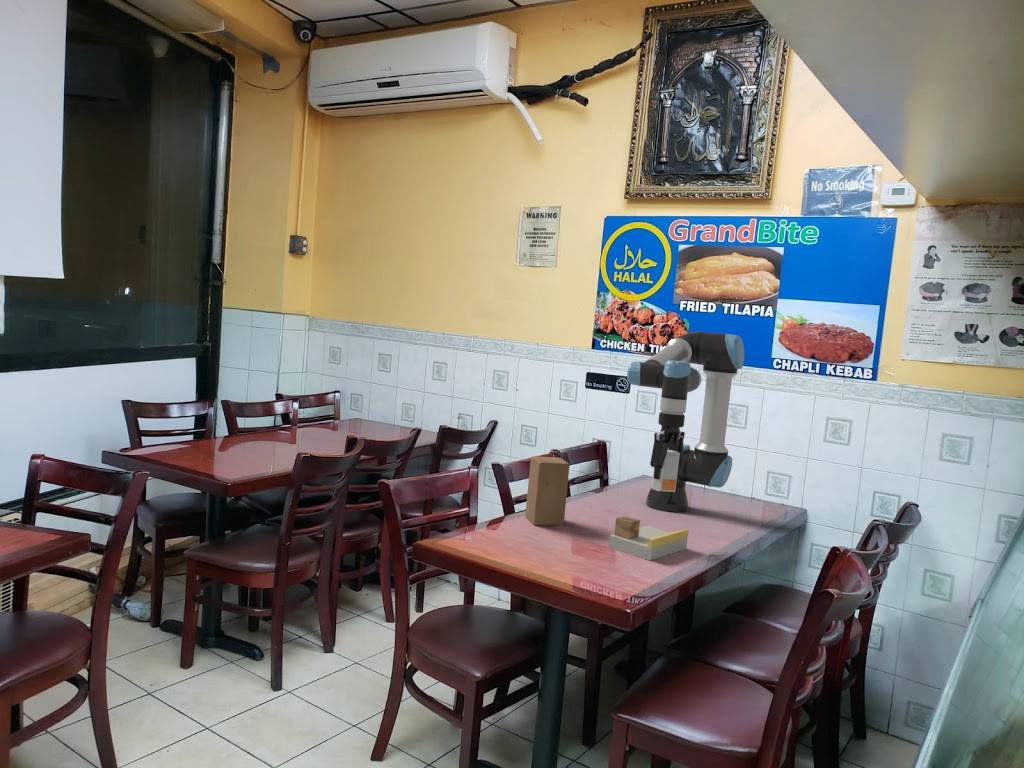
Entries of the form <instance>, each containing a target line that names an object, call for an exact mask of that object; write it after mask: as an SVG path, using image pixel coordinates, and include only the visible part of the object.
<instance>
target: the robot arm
mask: <svg viewBox="0 0 1024 768" xmlns="http://www.w3.org/2000/svg"><path fill="white" fill-rule="evenodd" d="M743 342H744V341H743V340H742V338H741V337H740V336H739V335H737V334H730V333H720V332H706V331H691V332H687V333H684V334H680V335H678V336H676V337H674V338H672V339H671V340H669V341H668V342H667V344H666V345H665V347H664V348H663V349H661V350H660V351H658V352H657V353H656V354H654V355H652V356H651V357H649V358H648V359H646V360H645V361H644V362H642V361H631V362H630V363H629V365H628V368H627V370H626V378H627V382H628V383H629V385H633V386H638V387H644V388H645V387H646V388H652V389H653V388H654V389H661V395H660V396H661V398H660V406H659V410H660V412H659V413H658V422H657V423H658V425H660V426H661V429H660V430H659V431H660V432H654V437H653V440H654V441H653V447H652V452H651V457H650V463H649V465H650V466H651V468H653V471H654V477H653V476H652V480H653V486H652V485H651V487H650V489H649V492H648V493H647V496H646V500H645V501H646V502H645V504H647V505H646V506H648V507H649V506H650V507H649V508H652V509H654V510H659V511H663V510H664V511H663V512H671V511H673V512H674V513H680V512H681V511H683V512H686V510H687V511H688V510H689V499H688V495H687V490H686V484H687V483H691V484H695V485H696V484H697V485H701V486H706V487H709V488H723V487H724V486H725V485H726V484H727V482H728V480H729V478H730V474H731V471H732V468H733V457H732V456H730V455H729V449H728V448H727V447H726V445H725V443H726V436H727V435H726V434H727V433H726V432H727V425H728V423H727V422H728V416H729V408H730V398H731V392H732V391H731V389H732V382H733V378H734V377H735V376H737V375H738V370H742V368H743V366H744V362H745V348H744V347H745V346H744V343H743ZM691 364H692V365H693V364H694V365H700V366H703V367H702V371H703V373H704V374H705V375H706V381H705V389H704V397H703V398H704V400H703V405H702V406H703V408H702V409H703V410H702V417H701V418H702V419H701V427H700V434H699V435H700V437H699V442H698V443H697V444H696V445H695V446H694V449H691V445H689V444H685V443H684V440H685V435H686V433H685V431H681V429H680V428H684V425H685V420H686V416H685V413H686V410H687V400H688V393H690V392H693V391H695V390H697V389H698V388H699V387H700V385H701V383H702V376H701V373H700V372H699V370H698V369H696V368H694V367H692V366H691ZM668 450H673V451H676V452H679V453H680V457H679V465H678V473H677V481H676V488H675V492H666V491H661V490H662V481H663V472H664V469H662V467H663V464H664V460H665V457H666V454H667V451H668ZM656 490H658V491H656ZM673 512H672V513H673ZM681 513H682V512H681Z"/></svg>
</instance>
